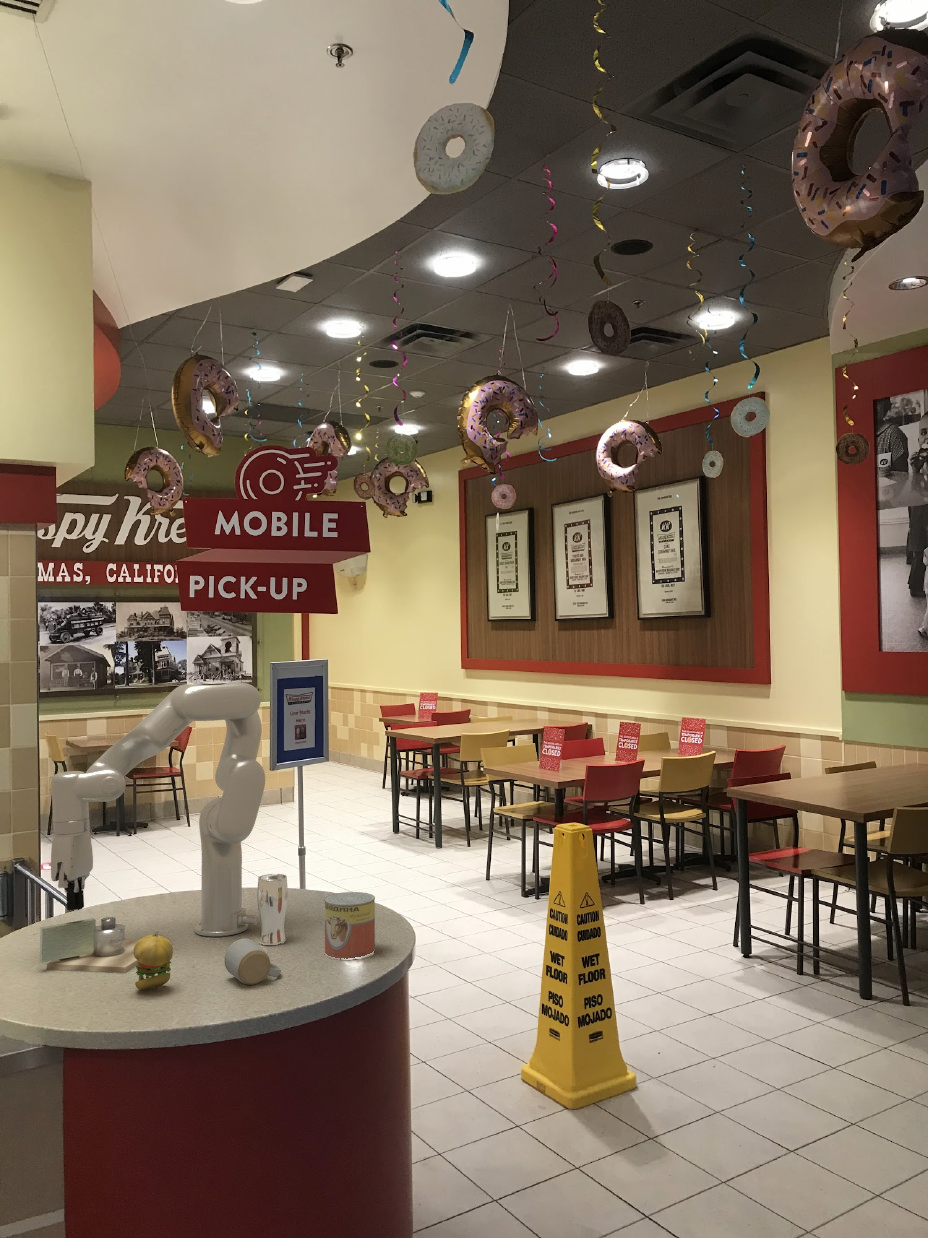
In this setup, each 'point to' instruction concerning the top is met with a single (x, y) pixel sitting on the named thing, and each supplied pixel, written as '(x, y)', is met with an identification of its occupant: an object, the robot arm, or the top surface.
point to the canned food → (349, 924)
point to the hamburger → (153, 961)
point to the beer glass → (272, 907)
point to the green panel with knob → (81, 939)
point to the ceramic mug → (249, 962)
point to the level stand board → (99, 961)
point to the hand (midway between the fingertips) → (75, 908)
